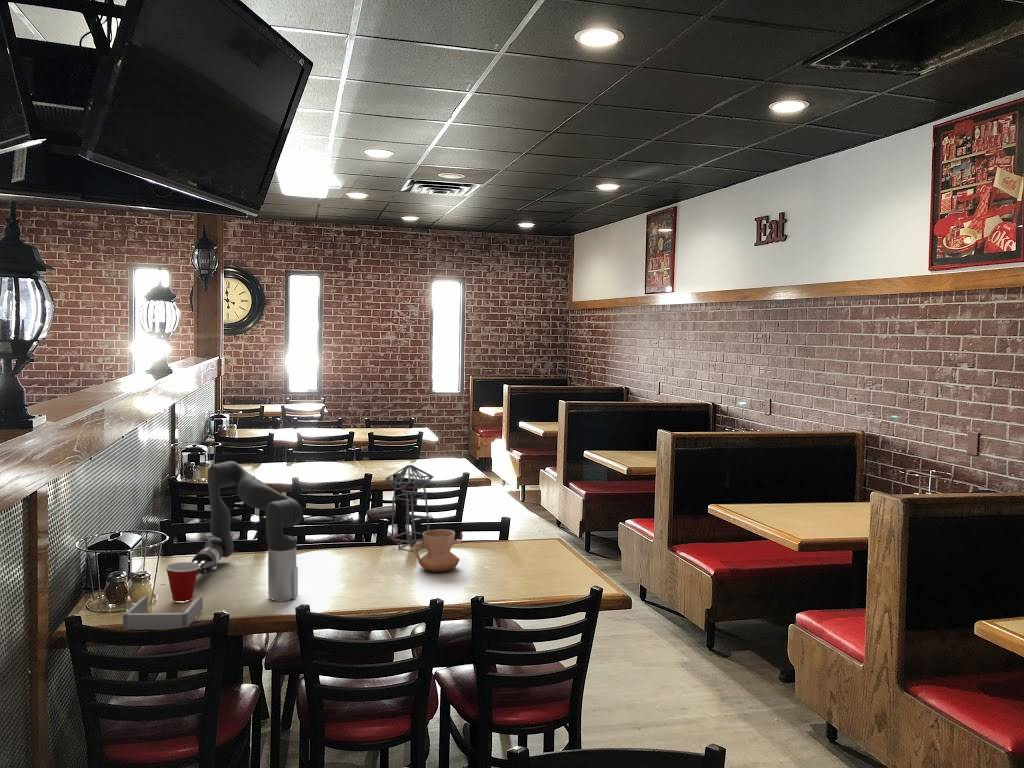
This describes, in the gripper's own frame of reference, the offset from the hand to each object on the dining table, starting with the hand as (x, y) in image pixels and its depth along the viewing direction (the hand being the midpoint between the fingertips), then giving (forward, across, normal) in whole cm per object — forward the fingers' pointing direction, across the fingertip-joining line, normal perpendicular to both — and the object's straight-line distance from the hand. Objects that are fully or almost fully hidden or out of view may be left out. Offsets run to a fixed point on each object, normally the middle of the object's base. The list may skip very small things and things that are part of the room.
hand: (190, 575), depth 272 cm
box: (+26, 0, +6) cm, 27 cm away
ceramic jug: (-23, +84, +6) cm, 87 cm away
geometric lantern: (-52, +72, +6) cm, 89 cm away
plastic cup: (+8, 0, +6) cm, 10 cm away
